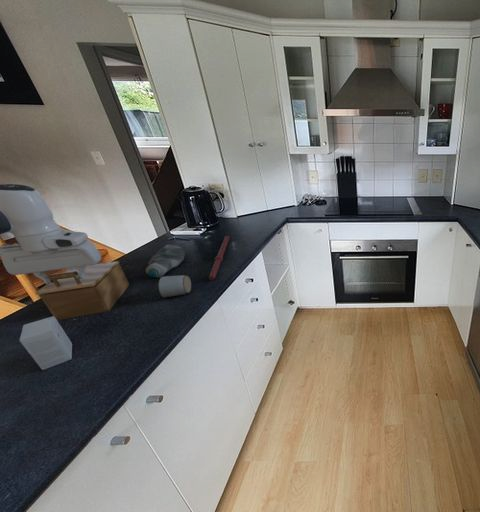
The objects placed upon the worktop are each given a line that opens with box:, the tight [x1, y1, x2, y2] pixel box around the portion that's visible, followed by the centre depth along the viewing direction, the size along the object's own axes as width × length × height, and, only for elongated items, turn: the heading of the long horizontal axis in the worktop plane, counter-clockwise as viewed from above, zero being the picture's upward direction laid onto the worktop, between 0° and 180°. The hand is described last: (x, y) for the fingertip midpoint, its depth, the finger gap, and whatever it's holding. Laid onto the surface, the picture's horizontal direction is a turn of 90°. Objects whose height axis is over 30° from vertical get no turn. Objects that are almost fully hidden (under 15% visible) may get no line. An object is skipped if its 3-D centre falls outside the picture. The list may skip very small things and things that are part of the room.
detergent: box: [144, 243, 187, 279], centre depth 118 cm, size 13×7×25 cm
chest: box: [39, 263, 130, 321], centre depth 96 cm, size 18×14×10 cm
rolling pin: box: [208, 235, 231, 281], centre depth 129 cm, size 45×3×3 cm, turn 20°
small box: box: [18, 315, 73, 371], centre depth 72 cm, size 8×6×10 cm
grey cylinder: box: [158, 274, 192, 298], centre depth 102 cm, size 11×8×8 cm
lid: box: [35, 260, 120, 295], centre depth 92 cm, size 18×14×5 cm
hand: (66, 280), depth 86 cm, fingers closed on lid, 6 cm apart
